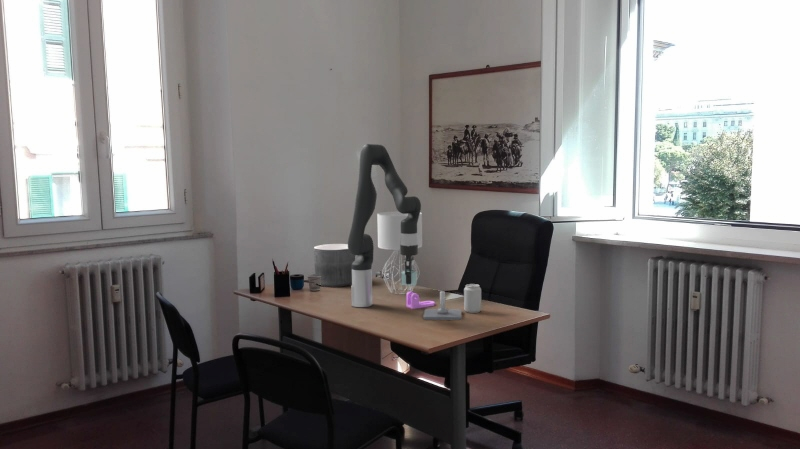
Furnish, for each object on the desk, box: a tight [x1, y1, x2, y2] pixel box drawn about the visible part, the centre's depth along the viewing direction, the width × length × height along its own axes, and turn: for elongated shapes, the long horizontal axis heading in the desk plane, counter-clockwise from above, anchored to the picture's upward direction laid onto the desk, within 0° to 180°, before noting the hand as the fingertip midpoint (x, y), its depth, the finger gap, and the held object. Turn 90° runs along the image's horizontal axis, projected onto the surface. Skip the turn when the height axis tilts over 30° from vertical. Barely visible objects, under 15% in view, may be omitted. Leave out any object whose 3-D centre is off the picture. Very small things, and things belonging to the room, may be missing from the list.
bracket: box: [405, 290, 436, 310], centre depth 302 cm, size 13×6×7 cm, turn 117°
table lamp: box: [376, 210, 423, 295], centre depth 332 cm, size 22×22×40 cm
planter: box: [313, 243, 356, 288], centre depth 357 cm, size 22×22×20 cm
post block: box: [422, 290, 462, 321], centre depth 283 cm, size 16×14×10 cm
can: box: [463, 283, 482, 314], centre depth 290 cm, size 8×8×12 cm
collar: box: [401, 270, 418, 286], centre depth 281 cm, size 6×6×5 cm
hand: (409, 282), depth 281 cm, fingers closed on collar, 6 cm apart
